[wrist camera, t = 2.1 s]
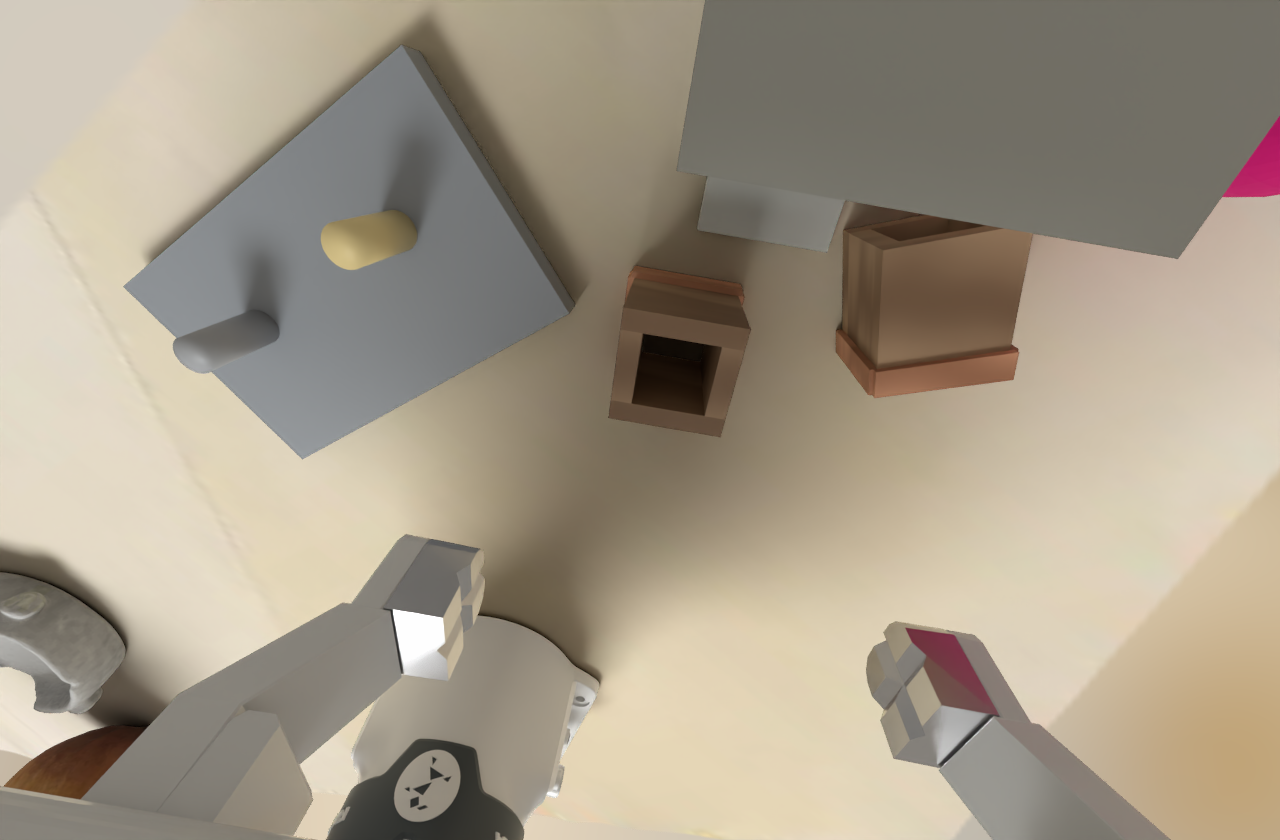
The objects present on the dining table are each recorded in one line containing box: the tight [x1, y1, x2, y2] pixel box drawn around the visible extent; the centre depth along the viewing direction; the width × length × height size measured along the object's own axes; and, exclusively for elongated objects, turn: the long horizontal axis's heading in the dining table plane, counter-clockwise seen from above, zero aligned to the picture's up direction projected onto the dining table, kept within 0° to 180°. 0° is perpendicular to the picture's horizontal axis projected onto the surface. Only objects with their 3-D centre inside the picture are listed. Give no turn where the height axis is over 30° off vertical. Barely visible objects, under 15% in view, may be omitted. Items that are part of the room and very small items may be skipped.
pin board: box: [123, 45, 575, 459], centre depth 23 cm, size 12×20×6 cm, turn 119°
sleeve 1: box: [608, 266, 751, 437], centre depth 22 cm, size 6×6×6 cm
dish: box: [0, 572, 125, 714], centre depth 41 cm, size 14×14×5 cm
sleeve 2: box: [836, 215, 1033, 398], centre depth 20 cm, size 6×6×5 cm
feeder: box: [677, 0, 1280, 259], centre depth 13 cm, size 11×9×15 cm
